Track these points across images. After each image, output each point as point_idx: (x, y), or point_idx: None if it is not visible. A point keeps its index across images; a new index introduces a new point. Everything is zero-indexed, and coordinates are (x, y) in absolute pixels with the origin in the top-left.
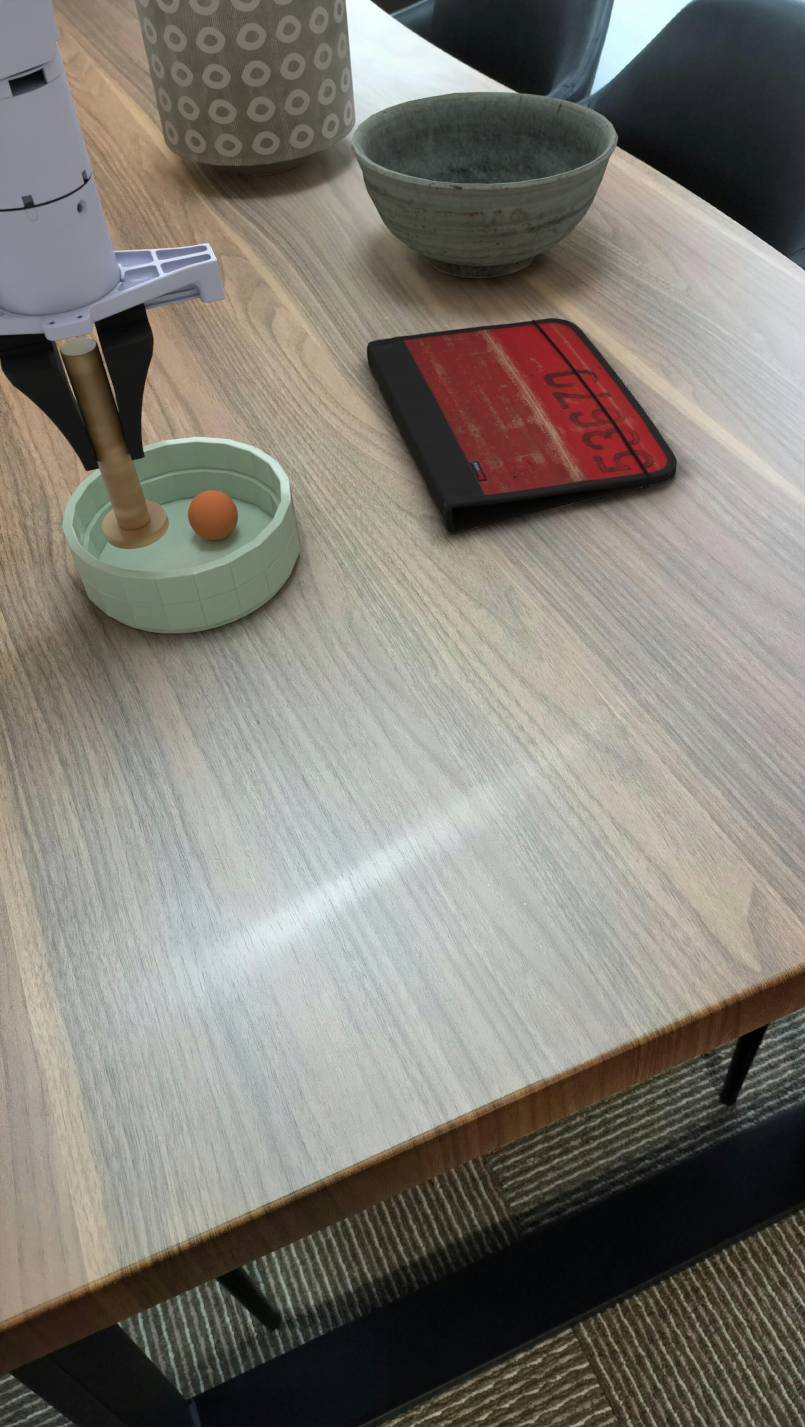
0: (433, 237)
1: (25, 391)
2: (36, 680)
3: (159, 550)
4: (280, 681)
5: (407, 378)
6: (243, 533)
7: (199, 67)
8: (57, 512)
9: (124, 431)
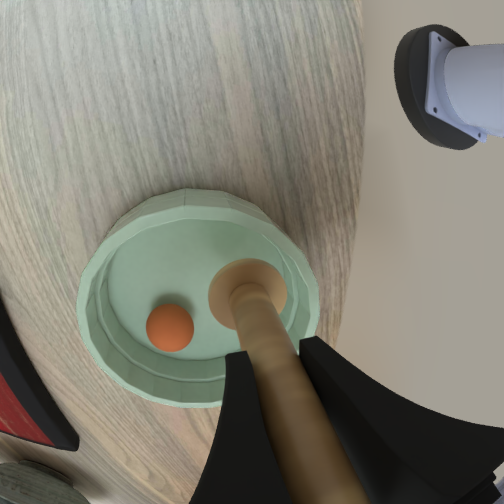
0: (51, 491)
1: (476, 426)
2: (344, 172)
3: None
4: (125, 107)
5: (39, 419)
6: (146, 310)
7: None
8: None
9: (256, 389)
